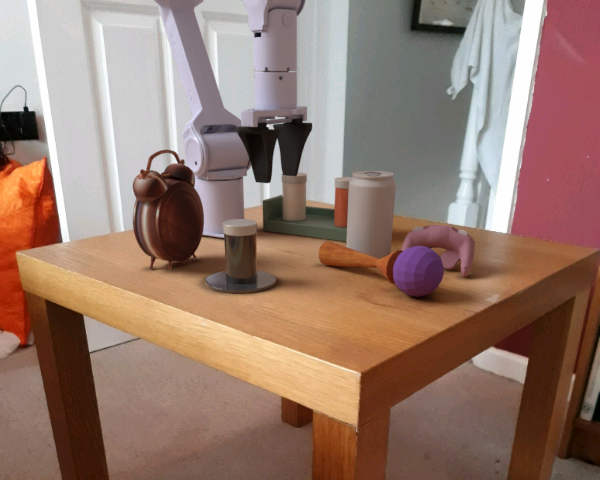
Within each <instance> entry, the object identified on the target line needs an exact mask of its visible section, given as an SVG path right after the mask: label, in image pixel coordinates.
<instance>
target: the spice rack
mask: <svg viewBox="0 0 600 480" xmlns="http://www.w3.org/2000/svg"><path fill="white" fill-rule="evenodd" d="M262 231H264V232H271V233H278V234H286V235H293V236H301V237H309V238H317V239H324V240H329V241H340V242H344V243H345V242H346V243H347V228H344V227H337V226H335V225H334V208H328V207H320V206H319V207H318V206H312V205H311V206H310V205H306V219H305V220H302V221H287V220H284V219H283V218H282V194H279V195H276V196H273V197H269V198H266V199H263V200H262Z"/></svg>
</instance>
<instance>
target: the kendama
mask: <svg viewBox="0 0 600 480" xmlns="http://www.w3.org/2000/svg"><path fill="white" fill-rule="evenodd" d="M440 257H441V255H439V254H438V252H436V251H435V250H434V249H433V248H428V247H425V246H414V247H410V248H408V249H405V250H404V251H402V250H401V249H399V250H396V251H393V252H391V254H389V255H387V256H385V257H383V258H380V259H378V258H375V257H372V256H369V255H367V254H364V253H361V252H359V251H356V250H353V249H350V248H348V247H346V246H344V245H342V244H339V243H337V242H334V241H332V240H326V241H324V242H322V243H321V246H320V247H319V249H318V259H319V261H320V263H321V264H322V265H325V266H334V267H355V268H371V269H373V268H374V269H375V268H376V269H378V270H379V272H380V273H382V275H383V276H384V277H385V278H386V279H387V281H389V282H390V284H392V285H395V286H396V287H397V288H398V289H399V290H400V291H401V292H402V293H403V294H404V295H407V296H410V297H415V298H420V297H424V296H428V295H430V294H432V293H433V292H435V291H436V290H437V288H438V287H439V286H440V284H441V283H442V281H443V278H444V273H445V269H444V268H443V264H442V260H441V258H440Z"/></svg>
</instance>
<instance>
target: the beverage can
mask: <svg viewBox="0 0 600 480" xmlns="http://www.w3.org/2000/svg"><path fill="white" fill-rule="evenodd" d="M351 177H352V179H351V180H350V182H349V193H348V218H347V242H346V246H345V247H348V248H350V249H353V250H356V251H359V252H361V253H364V254H367V255H369V256H372V257H375V258H378V259H380V258H383V257H385V256H387V255H389V254H391V253H392V242H393V228H394V218H395V217H394V216H395V215H394V214H395V203H396V189H397V188H396V187H397V183H396V181H395V179H394V177H395V174H394V173H393V172H390V171H385V170H356V171H353V172H352V173H351Z"/></svg>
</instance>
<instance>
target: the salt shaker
mask: <svg viewBox="0 0 600 480" xmlns="http://www.w3.org/2000/svg"><path fill="white" fill-rule="evenodd" d="M307 182H308V173H306V172H305V173H304V172H298V174H297V176H286V175H283V173H281V193H282V194H281V195H282V218H283V219H284V220H287V221H302V220H305V219H306V206H307Z"/></svg>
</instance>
